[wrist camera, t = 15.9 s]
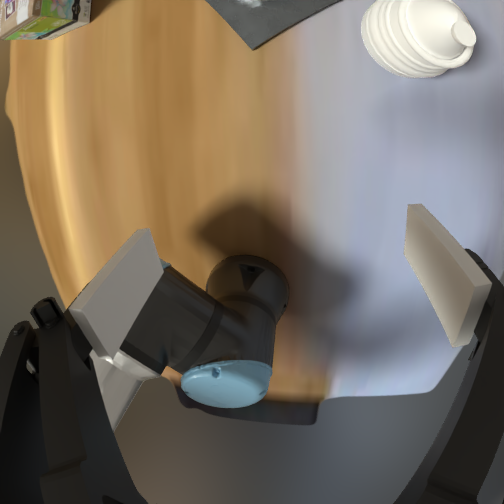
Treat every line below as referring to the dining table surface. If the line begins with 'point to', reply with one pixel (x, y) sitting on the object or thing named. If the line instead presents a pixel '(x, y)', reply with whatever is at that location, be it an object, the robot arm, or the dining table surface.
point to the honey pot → (417, 36)
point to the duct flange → (265, 16)
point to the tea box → (41, 18)
